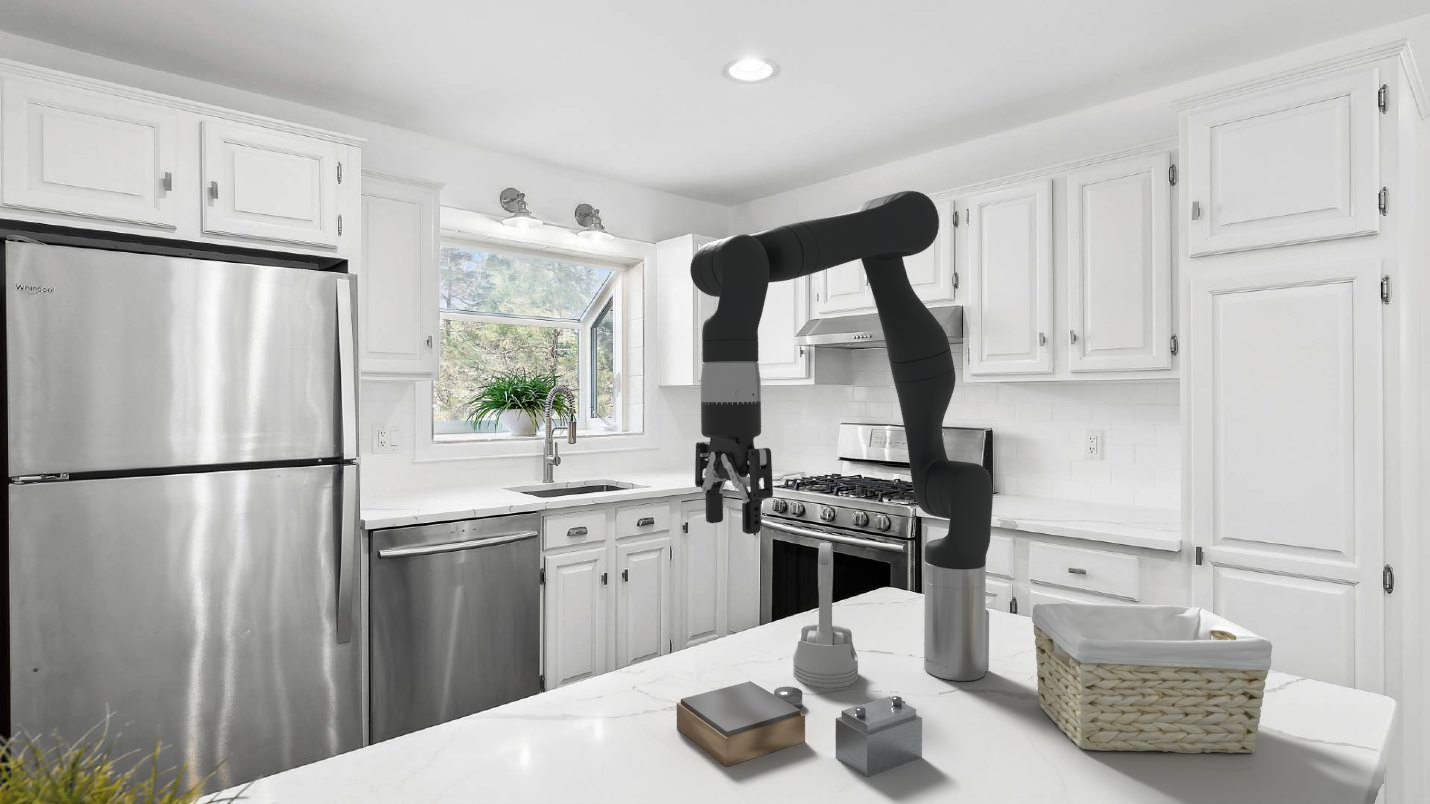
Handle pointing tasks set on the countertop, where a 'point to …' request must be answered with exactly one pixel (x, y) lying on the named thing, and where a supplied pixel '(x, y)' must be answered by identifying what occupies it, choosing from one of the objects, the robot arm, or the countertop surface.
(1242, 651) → the storage basket
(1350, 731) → the countertop surface
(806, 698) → the countertop surface
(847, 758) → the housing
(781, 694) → the dark grey domed cap
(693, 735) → the stand
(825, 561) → the engine component
